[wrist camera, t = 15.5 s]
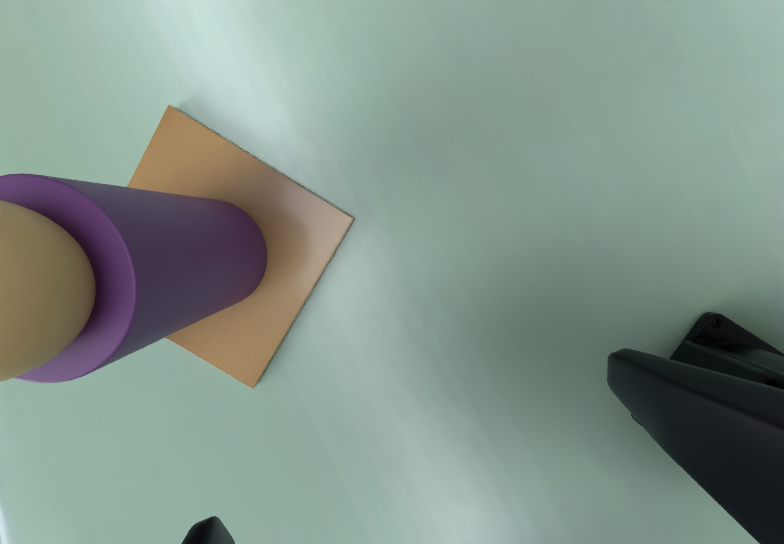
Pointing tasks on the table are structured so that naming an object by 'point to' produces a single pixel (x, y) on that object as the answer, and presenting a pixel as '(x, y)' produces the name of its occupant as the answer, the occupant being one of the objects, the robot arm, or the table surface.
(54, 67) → the table surface
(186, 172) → the cork coaster
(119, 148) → the table surface
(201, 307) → the peg doll toy
